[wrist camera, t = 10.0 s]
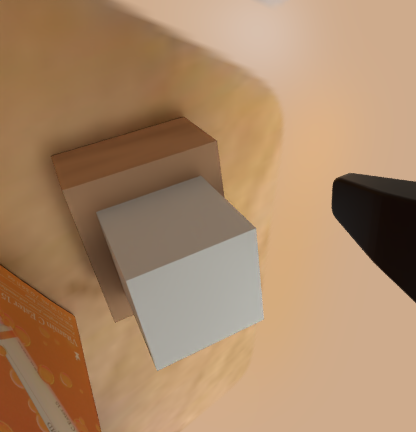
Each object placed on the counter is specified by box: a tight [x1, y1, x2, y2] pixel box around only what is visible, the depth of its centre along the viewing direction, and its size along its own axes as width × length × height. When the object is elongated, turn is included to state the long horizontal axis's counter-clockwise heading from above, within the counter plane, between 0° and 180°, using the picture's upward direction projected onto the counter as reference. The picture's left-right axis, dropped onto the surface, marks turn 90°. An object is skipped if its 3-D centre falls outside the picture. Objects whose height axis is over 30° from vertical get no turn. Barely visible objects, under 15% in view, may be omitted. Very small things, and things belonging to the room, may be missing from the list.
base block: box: [51, 117, 224, 323], centre depth 21 cm, size 8×7×4 cm
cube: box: [96, 176, 264, 371], centre depth 17 cm, size 5×5×5 cm
